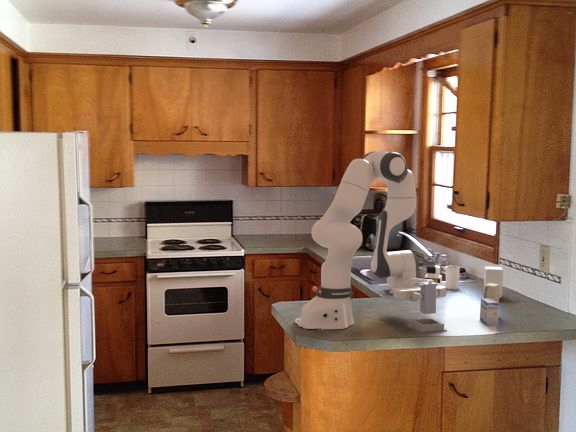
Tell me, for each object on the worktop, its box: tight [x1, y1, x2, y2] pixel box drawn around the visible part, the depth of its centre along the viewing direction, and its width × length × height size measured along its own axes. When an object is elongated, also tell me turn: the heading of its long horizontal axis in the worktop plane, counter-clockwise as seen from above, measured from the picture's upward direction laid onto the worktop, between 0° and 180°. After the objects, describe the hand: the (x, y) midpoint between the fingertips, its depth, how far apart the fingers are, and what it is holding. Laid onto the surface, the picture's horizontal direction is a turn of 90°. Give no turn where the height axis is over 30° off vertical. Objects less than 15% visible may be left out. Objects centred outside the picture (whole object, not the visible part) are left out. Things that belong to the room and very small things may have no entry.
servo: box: [419, 280, 438, 315], centre depth 260 cm, size 6×4×12 cm, turn 106°
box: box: [483, 283, 500, 317], centre depth 278 cm, size 5×4×13 cm
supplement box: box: [483, 266, 504, 299], centre depth 315 cm, size 7×7×13 cm
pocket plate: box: [406, 317, 448, 334], centre depth 261 cm, size 11×10×3 cm
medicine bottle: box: [423, 264, 443, 285], centre depth 324 cm, size 7×7×12 cm
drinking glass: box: [444, 265, 461, 290], centre depth 331 cm, size 7×7×10 cm
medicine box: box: [479, 297, 500, 326], centre depth 269 cm, size 8×4×9 cm, turn 4°
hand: (429, 296), depth 259 cm, fingers closed on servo, 4 cm apart
